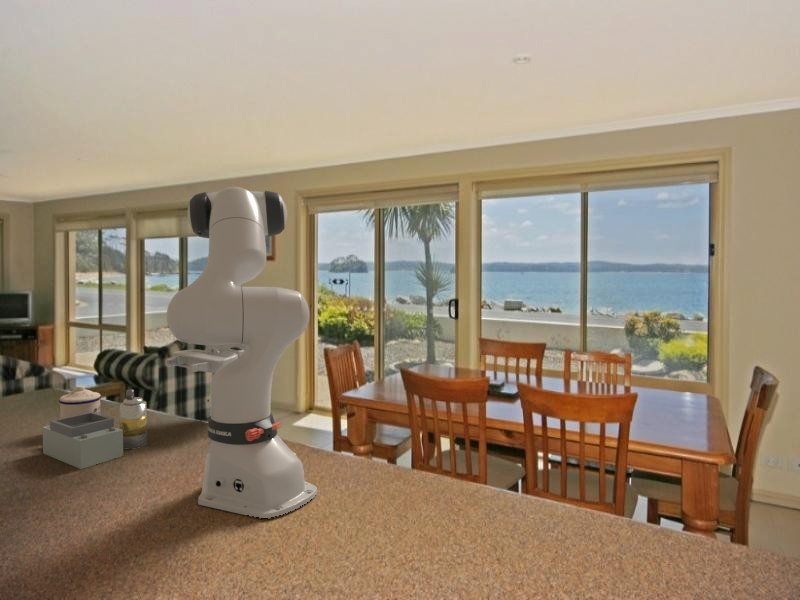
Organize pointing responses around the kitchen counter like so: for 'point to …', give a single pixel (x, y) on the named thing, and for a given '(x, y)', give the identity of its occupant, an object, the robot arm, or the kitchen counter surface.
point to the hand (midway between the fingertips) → (178, 365)
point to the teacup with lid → (79, 402)
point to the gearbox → (83, 440)
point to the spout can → (133, 421)
